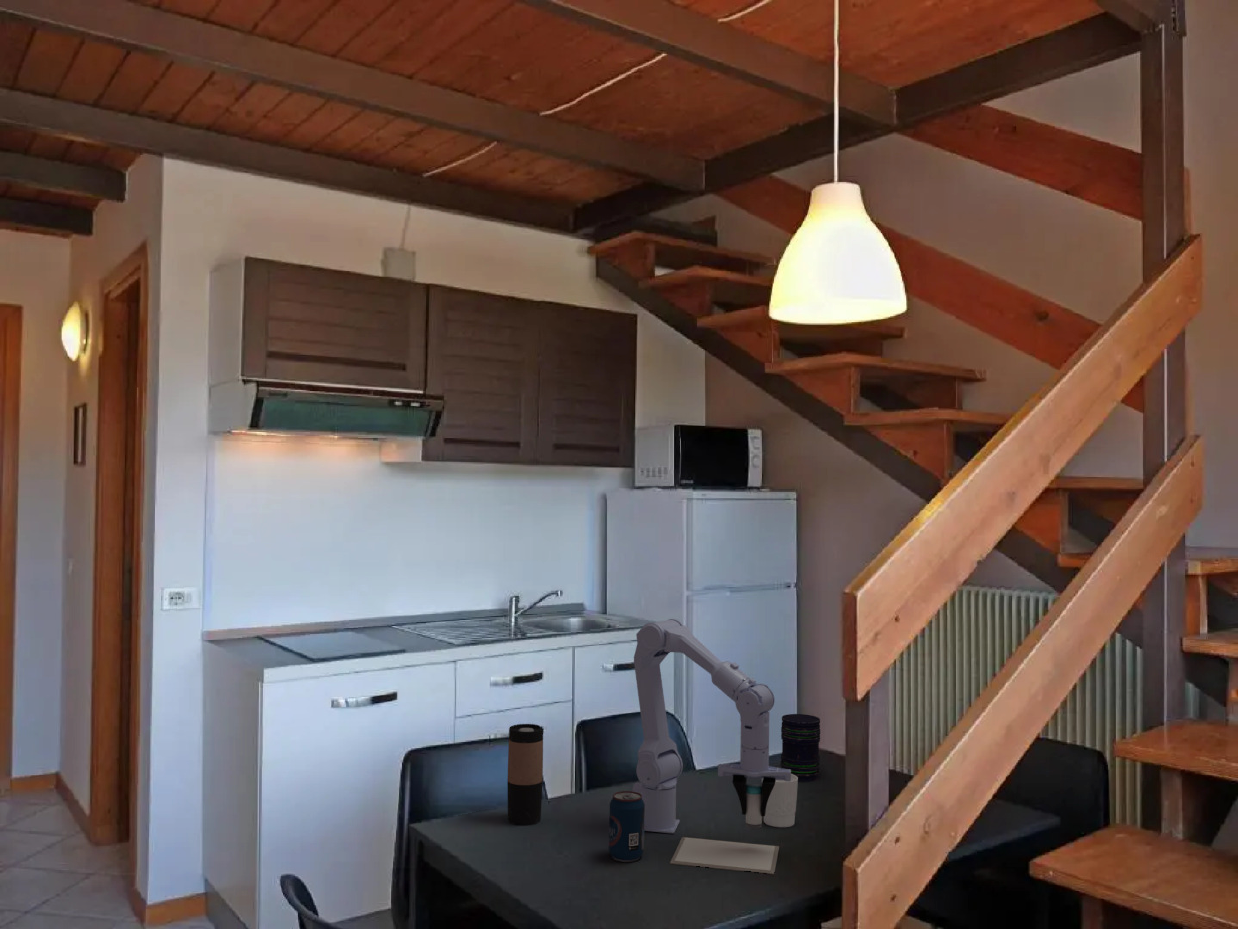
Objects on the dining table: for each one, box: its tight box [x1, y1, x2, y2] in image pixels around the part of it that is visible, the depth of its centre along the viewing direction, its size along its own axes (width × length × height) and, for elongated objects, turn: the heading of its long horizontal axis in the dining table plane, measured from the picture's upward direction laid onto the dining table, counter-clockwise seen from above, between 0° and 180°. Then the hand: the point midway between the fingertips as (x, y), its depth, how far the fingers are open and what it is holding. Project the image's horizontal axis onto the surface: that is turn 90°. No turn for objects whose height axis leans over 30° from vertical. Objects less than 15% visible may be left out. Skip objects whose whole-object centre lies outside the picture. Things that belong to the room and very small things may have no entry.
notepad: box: [669, 836, 780, 875], centre depth 198 cm, size 20×15×1 cm
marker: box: [745, 783, 763, 830], centre depth 201 cm, size 3×3×8 cm
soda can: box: [608, 790, 645, 863], centre depth 197 cm, size 7×7×12 cm
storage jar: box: [780, 713, 821, 784], centre depth 254 cm, size 10×10×15 cm
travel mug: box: [506, 723, 544, 826], centre depth 217 cm, size 8×8×20 cm
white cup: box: [761, 774, 799, 828], centre depth 219 cm, size 8×8×10 cm
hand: (753, 814), depth 201 cm, fingers closed on marker, 3 cm apart
